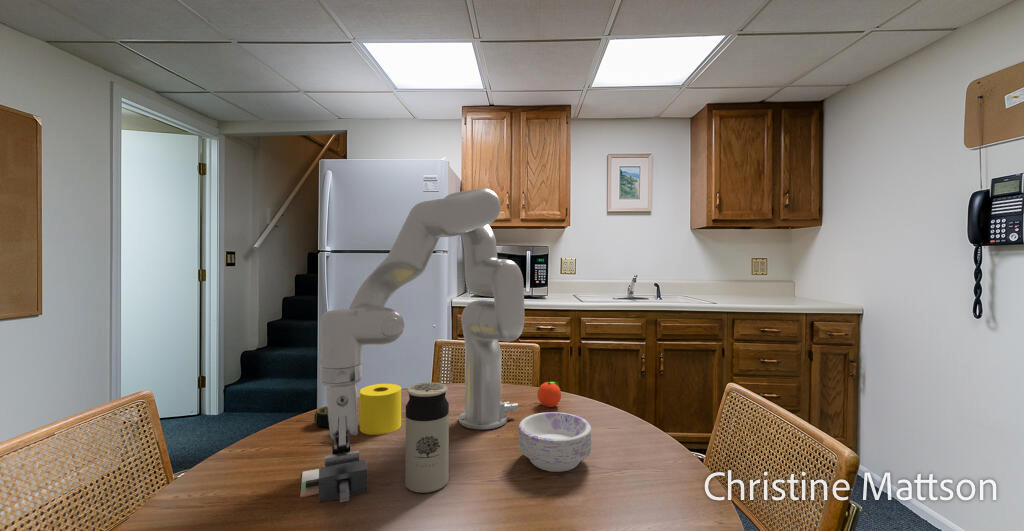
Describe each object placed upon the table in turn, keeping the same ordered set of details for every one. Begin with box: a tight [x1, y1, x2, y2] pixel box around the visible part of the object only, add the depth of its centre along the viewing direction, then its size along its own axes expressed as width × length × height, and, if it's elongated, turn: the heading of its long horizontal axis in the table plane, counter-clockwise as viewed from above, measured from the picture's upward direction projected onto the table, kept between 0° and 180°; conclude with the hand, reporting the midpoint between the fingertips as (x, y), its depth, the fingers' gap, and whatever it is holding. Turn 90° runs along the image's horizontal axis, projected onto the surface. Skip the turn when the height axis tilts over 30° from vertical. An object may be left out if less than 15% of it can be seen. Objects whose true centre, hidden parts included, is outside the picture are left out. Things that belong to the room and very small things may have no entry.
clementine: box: [536, 381, 562, 408], centre depth 122 cm, size 8×7×7 cm
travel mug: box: [404, 382, 450, 494], centre depth 79 cm, size 8×8×18 cm
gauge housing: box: [318, 459, 369, 503], centre depth 76 cm, size 8×4×4 cm, turn 114°
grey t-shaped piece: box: [306, 449, 360, 503], centre depth 74 cm, size 9×10×5 cm
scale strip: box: [299, 468, 319, 498], centre depth 79 cm, size 3×10×1 cm, turn 24°
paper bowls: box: [518, 411, 593, 473], centre depth 88 cm, size 15×15×8 cm
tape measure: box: [313, 406, 329, 428], centre depth 107 cm, size 7×7×4 cm
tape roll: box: [359, 383, 402, 436], centre depth 106 cm, size 10×10×9 cm
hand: (341, 466), depth 82 cm, fingers closed
